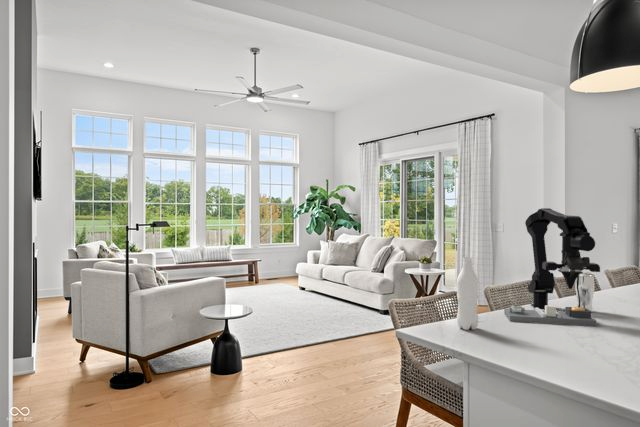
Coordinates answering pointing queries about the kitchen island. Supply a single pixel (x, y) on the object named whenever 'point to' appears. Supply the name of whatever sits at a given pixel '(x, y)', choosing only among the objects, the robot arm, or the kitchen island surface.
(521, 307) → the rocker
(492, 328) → the kitchen island surface
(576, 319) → the panel
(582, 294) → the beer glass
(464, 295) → the water bottle
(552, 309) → the cream rectangular brick
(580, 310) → the button
